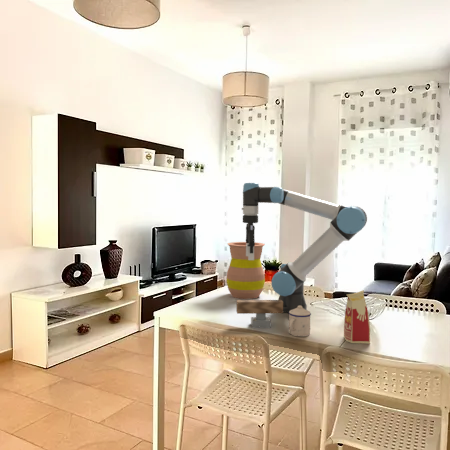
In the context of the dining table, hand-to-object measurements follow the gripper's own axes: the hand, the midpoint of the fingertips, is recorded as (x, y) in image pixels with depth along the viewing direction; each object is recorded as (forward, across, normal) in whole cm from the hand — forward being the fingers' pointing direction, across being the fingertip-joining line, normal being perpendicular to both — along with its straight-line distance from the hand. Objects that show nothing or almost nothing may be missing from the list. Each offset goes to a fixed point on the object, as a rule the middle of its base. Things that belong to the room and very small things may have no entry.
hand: (249, 258), depth 211 cm
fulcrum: (+27, +23, +3) cm, 35 cm away
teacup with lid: (+27, +35, +17) cm, 47 cm away
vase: (+27, -35, +1) cm, 44 cm away
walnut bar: (+21, +23, +2) cm, 31 cm away
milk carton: (+27, +42, +39) cm, 63 cm away
